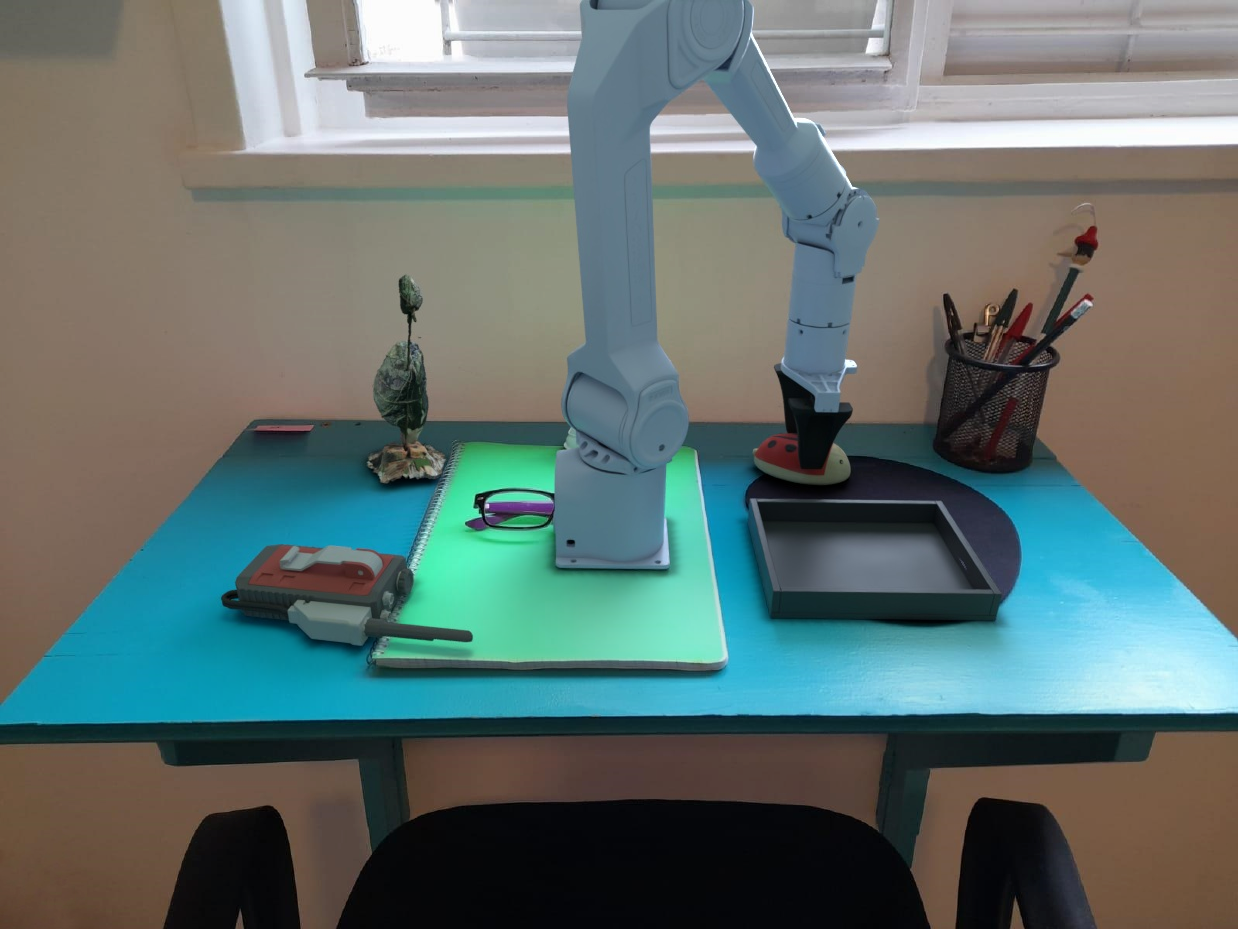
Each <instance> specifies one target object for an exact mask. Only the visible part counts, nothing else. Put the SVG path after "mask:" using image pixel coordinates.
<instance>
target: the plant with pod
mask: <svg viewBox="0 0 1238 929" xmlns="http://www.w3.org/2000/svg"><path fill="white" fill-rule="evenodd" d="M398 293H399V306H400V310H401V313H402V314H403V315H406V323H407V324H408V328H407V329H408V336H407V340H401V341H397V342H396V343H395V344H393V345H392V346H391V348H390V350H388V352H387V354H386V355H385V358H384V359H383V360H382V364H381V365H380V367H379V368H378V369H377V370H376V374H375V376H374V378H373V383H372V392H373V393H372V394H373V401H374V404H375V405H376V408H377V410H378V412H379V413H380V416H381V418H382V419H383V420H385V422H387V423H388V424H389V425H391V426H393V427H397V428H399V430H400V434H399V435H400V437H399V439H400V442H401V443H396V442H391V443H388V444H386V445H384V446H383V448H382V449H381V450H378V451H377V452H372V453H371V452H370V453H369V454H368V457H367V458H368V461H367V462H366V466H367V467H368V468H370V470H371V469H373V471H372V473H374V474H375V473H376V474H377V476H379V479H380V483H383V484H389V483H390V481H391V482H395V481H396V480H397V479H402V476H403V477H404V478H405V479H408V477H409V479H414V478H416V480H419V479H424V478H426V479H427V478H428V480H431V479H432V480H436V479H438V478H440V477H441V476H442V475H443V472H444V471H443V468H444V464H445V462H446V461H447V459H446V455H445V454H444V452H443V451H441V450H436V449H435V448H434V447H435V446H431V444H429V443H426V442H424V443H421V442H420V441H418V439H419V436H420V434H421V432H422V431H423V429H424V428H425V424H426V422H427V420H428V419H427V418H428V412H429V397H428V391H427V387H428V386H427V372H426V367H425V364H424V360H425V359H424V354H423V352H422V349H420V347H419V344H418V343H416V342H414V341H412V340H411V336H412V323H413V322H415V323H417V322H418V320H417V317H416V312H417V311H419V310H420V308H421V307H422V305H423V302H424V296H423V293H422V291H421V289H420V287H419V285H417V283H416V281H415V280H414V279H413V278H412V277H411V276H410V275H409V274H408V273H406V274H404V275H403V276H401V277H400V278H398ZM417 339H422V336H417Z"/></svg>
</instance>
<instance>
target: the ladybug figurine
mask: <svg viewBox="0 0 1238 929" xmlns="http://www.w3.org/2000/svg"><path fill="white" fill-rule="evenodd" d="M751 453H752V456H753V462H754V465H755V466H756V467H757V468H758V469H759V470H760V471H761V472H763V473H765V474H766V475H769V476H771V477H774V478H777V479H779V480H783V481H786V482H791V483H793V484H794V483H796V484H800V485H801V484H802V485H809V486H830V485H835V484H840V483H843V482H845V481H846V480H847V479H849V477H850V476H851V464H850V460H849V458H848V456H847V454H846V453H845V451H844V450H843V449H842V448H841V447H840V446H839V445H838V444H837V443H834V442H833V444H832V447H831V449H830V452H829V454H828V457H827V459H826V462H825V464H824V466H823V468H822V469H801V467H800V464H799V458H798V440H797V433H787V432H785V433H776V434H773V435H771V436H770V437H768V438H766V439H764V441H763V442H762V443H760V445H759V446H758V448H756V447H755V448H753V450H752V452H751Z"/></svg>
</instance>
